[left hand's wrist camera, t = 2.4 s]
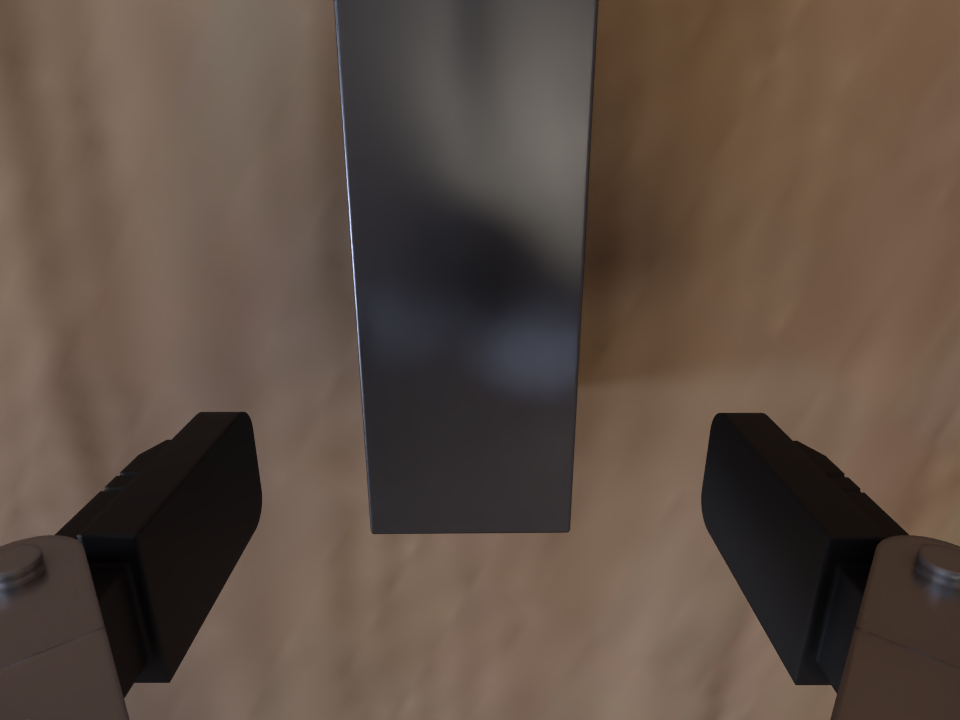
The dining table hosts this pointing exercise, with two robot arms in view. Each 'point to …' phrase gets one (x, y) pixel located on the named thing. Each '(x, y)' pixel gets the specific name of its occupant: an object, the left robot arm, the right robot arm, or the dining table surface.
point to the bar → (468, 253)
